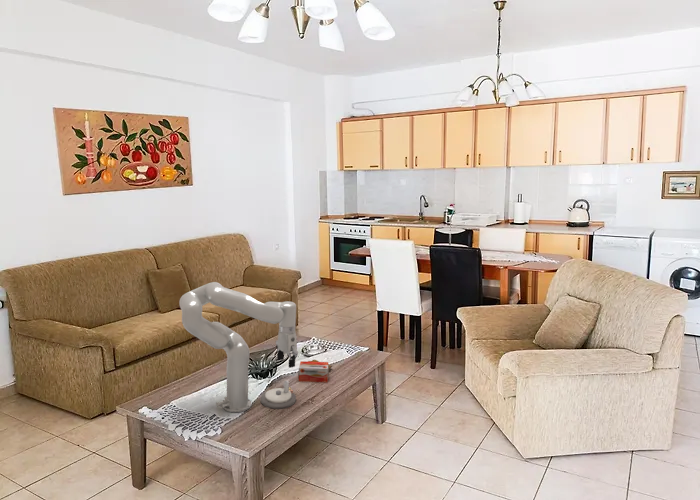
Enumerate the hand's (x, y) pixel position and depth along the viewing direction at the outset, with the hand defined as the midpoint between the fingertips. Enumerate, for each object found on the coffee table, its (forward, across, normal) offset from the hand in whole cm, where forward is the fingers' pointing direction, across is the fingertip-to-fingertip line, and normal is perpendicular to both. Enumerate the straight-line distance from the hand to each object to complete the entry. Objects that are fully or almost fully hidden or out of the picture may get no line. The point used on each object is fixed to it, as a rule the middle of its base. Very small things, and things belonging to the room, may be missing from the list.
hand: (286, 363), depth 240 cm
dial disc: (+16, 0, +3) cm, 16 cm away
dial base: (+18, 0, +4) cm, 18 cm away
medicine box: (+18, +9, -24) cm, 31 cm away
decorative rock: (+18, +18, -32) cm, 41 cm away
